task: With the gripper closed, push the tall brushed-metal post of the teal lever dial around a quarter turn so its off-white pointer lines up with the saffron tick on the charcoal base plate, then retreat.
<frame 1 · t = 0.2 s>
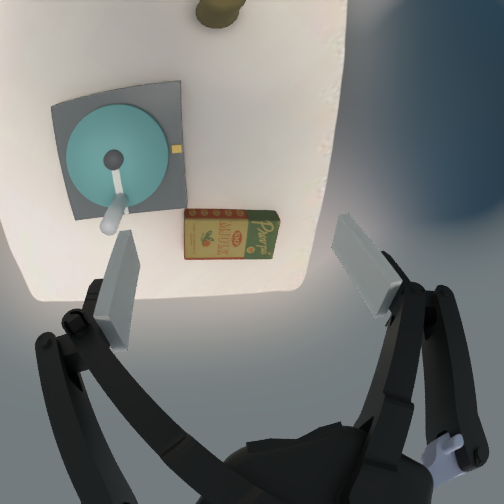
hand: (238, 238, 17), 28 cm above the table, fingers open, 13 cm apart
base plate: (119, 151, 37), on the table
cork: (217, 10, 27), on the table
dial: (107, 167, 32), point 7 cm above the table, hinge at 0.0°
carton: (229, 227, 50), on the table
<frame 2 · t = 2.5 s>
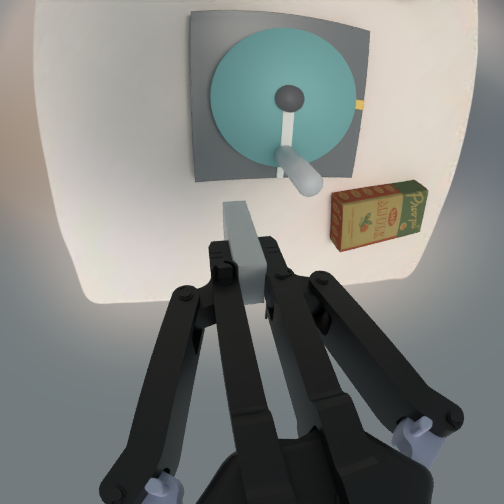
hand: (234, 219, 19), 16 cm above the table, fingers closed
base plate: (279, 94, 28), on the table
dial: (299, 102, 23), point 7 cm above the table, hinge at 0.0°
carton: (373, 206, 41), on the table
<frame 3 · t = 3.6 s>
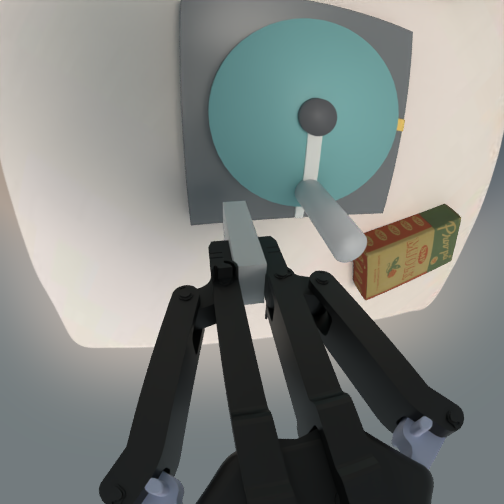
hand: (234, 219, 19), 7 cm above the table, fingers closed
base plate: (300, 108, 22), on the table
dial: (334, 125, 16), point 7 cm above the table, hinge at 0.0°
carton: (400, 239, 35), on the table
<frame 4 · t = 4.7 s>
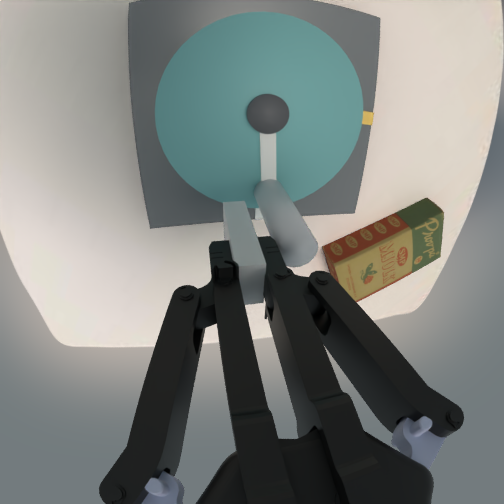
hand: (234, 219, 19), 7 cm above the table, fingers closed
base plate: (257, 106, 21), on the table
dial: (278, 121, 16), point 7 cm above the table, hinge at 3.4°, touching gripper
carton: (380, 241, 34), on the table
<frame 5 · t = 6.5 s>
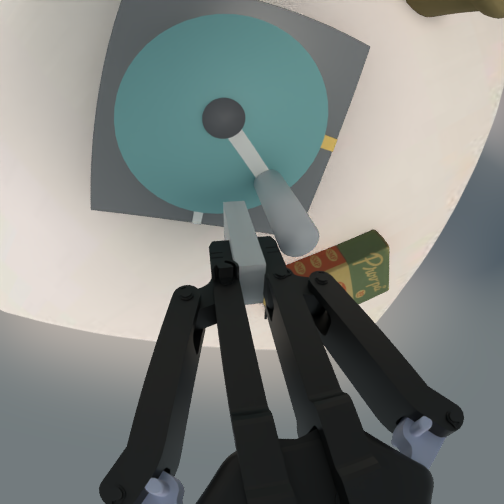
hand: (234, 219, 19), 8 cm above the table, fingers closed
base plate: (220, 110, 21), on the table
dial: (227, 126, 16), point 7 cm above the table, hinge at 47.7°, touching gripper
carton: (321, 272, 35), on the table
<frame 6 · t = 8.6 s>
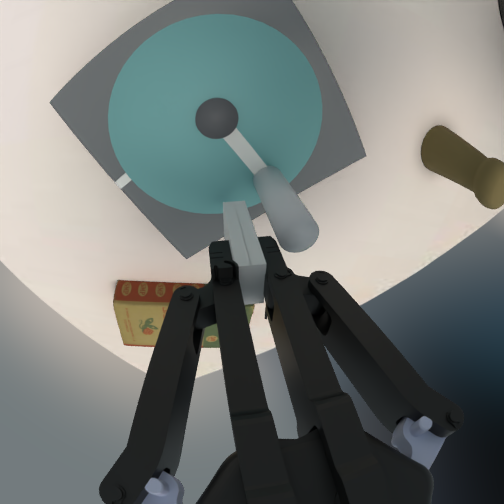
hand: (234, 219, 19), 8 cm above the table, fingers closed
base plate: (214, 110, 21), on the table
cork: (437, 148, 26), on the table
dial: (219, 126, 16), point 7 cm above the table, hinge at 96.4°, touching gripper
carton: (183, 303, 34), on the table
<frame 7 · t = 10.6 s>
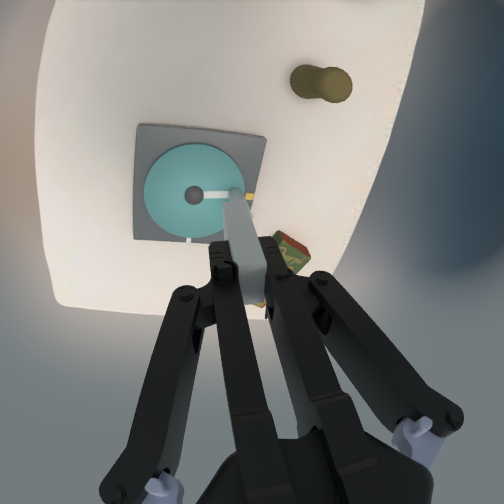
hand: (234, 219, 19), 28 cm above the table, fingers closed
base plate: (193, 186, 45), on the table
cork: (307, 81, 38), on the table
dial: (194, 203, 40), point 7 cm above the table, hinge at 96.4°
carton: (267, 264, 59), on the table
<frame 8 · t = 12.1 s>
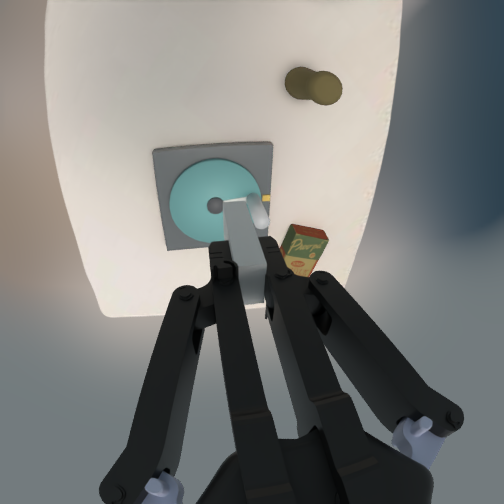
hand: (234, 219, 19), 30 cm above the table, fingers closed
base plate: (214, 195, 51), on the table
cork: (301, 83, 40), on the table
dial: (217, 214, 45), point 7 cm above the table, hinge at 96.4°
carton: (292, 254, 63), on the table
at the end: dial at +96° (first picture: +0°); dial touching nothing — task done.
